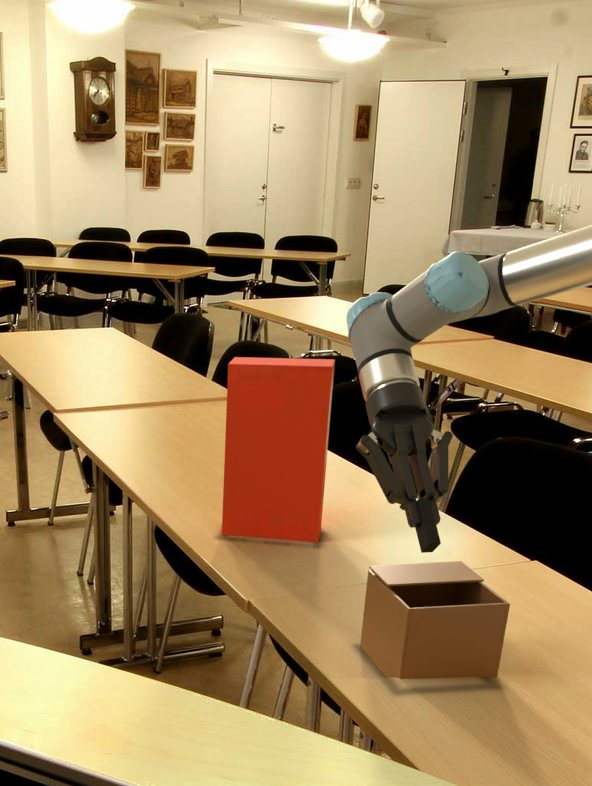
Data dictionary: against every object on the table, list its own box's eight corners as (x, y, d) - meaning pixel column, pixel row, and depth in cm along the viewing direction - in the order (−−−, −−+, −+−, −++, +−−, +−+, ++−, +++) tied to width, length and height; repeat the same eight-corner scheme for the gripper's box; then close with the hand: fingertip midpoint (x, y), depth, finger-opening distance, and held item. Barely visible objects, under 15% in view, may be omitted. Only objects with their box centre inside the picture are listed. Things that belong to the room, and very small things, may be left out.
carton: (359, 646, 126) (368, 570, 122) (449, 641, 127) (460, 565, 123) (397, 691, 115) (408, 609, 110) (495, 685, 115) (510, 603, 111)
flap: (369, 567, 122) (369, 565, 122) (460, 563, 123) (461, 561, 123) (387, 586, 116) (387, 584, 116) (483, 581, 117) (484, 579, 117)
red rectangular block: (228, 523, 176) (235, 356, 163) (320, 531, 170) (335, 358, 158) (221, 538, 169) (227, 364, 156) (317, 546, 163) (332, 367, 151)
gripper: (427, 408, 131) (467, 557, 121) (338, 412, 130) (372, 562, 121) (449, 377, 124) (493, 532, 115) (355, 381, 123) (392, 538, 114)
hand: (431, 547), depth 118 cm, fingers closed
